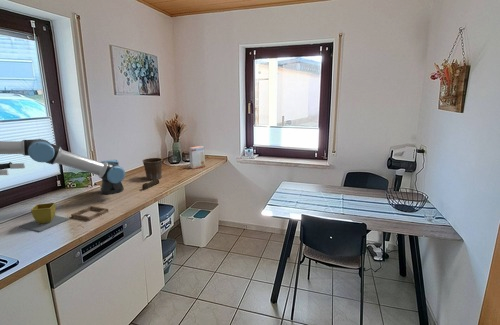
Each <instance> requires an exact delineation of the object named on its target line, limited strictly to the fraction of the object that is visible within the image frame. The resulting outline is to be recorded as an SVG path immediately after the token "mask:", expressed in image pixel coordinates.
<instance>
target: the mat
mask: <svg viewBox="0 0 500 325" xmlns="http://www.w3.org/2000/svg"><path fill="white" fill-rule="evenodd" d="M69 220H70V218H68V217H64V216H59V215H55V216H54V218H53V219H52V221H51V222H49V223H41V224H39V223H38V222H36V221H35V219H33V220H31V221H28V222H26V223H24V224H20V225H18V228H21V229H24V230H30V231H33V232H38V233H41V232H44V231H46V230H48V229H51V228H53V227H56V226H57V225H59V224H62V223H65V222H67V221H69Z"/></svg>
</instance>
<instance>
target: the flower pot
mask: <svg viewBox="0 0 500 325" xmlns="http://www.w3.org/2000/svg"><path fill="white" fill-rule="evenodd" d="M30 212H31V214H32V217H33V220H35V221H36V222H38V223H39V224H41V223H49V222H51V221H52V219H53V218H54V216H56V212H57V211H56V202H47V203H38V204H36V205H34V207H32V208H31V210H30Z"/></svg>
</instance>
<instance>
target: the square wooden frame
mask: <svg viewBox="0 0 500 325" xmlns="http://www.w3.org/2000/svg"><path fill="white" fill-rule="evenodd" d="M89 211H95V212H96V213H94V214H92V215H89V216H88V215H83V214H84V213H87V212H89ZM106 213H109V208H104V207H99V206H92V205H91V206H88V207H85V208H83V209H81V210H78V211H76V212H73V213H72V214H70V217H71V218H73V219H77V220H83V221H87V222H89V221H92V220H94V219H96V218H98V217H100V215H101V216H103V215H105V214H106ZM102 214H103V215H102Z"/></svg>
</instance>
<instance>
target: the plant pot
mask: <svg viewBox="0 0 500 325" xmlns="http://www.w3.org/2000/svg"><path fill="white" fill-rule="evenodd" d="M142 164H143V166H144V171H145V176H146V180H147V181H148V180H149V181H153V180H155V179H158V180H160V179H162V177H163V176H162V171H163V169H162V168H163V158H160V157H151V158H150V157H148V158H145V159H142Z"/></svg>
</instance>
